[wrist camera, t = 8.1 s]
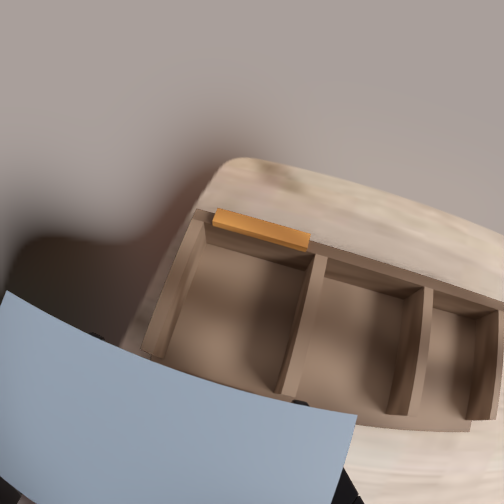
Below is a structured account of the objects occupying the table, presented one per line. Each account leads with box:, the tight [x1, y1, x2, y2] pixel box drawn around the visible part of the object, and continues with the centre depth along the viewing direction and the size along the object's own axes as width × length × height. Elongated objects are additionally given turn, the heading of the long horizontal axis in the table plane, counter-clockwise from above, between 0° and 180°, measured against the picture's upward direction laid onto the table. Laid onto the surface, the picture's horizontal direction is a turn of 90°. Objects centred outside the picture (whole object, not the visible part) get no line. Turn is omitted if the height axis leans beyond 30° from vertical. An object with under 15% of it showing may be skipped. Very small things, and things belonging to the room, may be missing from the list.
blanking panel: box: [0, 291, 358, 504], centre depth 8 cm, size 3×6×12 cm, turn 74°
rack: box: [140, 208, 504, 432], centre depth 19 cm, size 11×25×5 cm, turn 74°
